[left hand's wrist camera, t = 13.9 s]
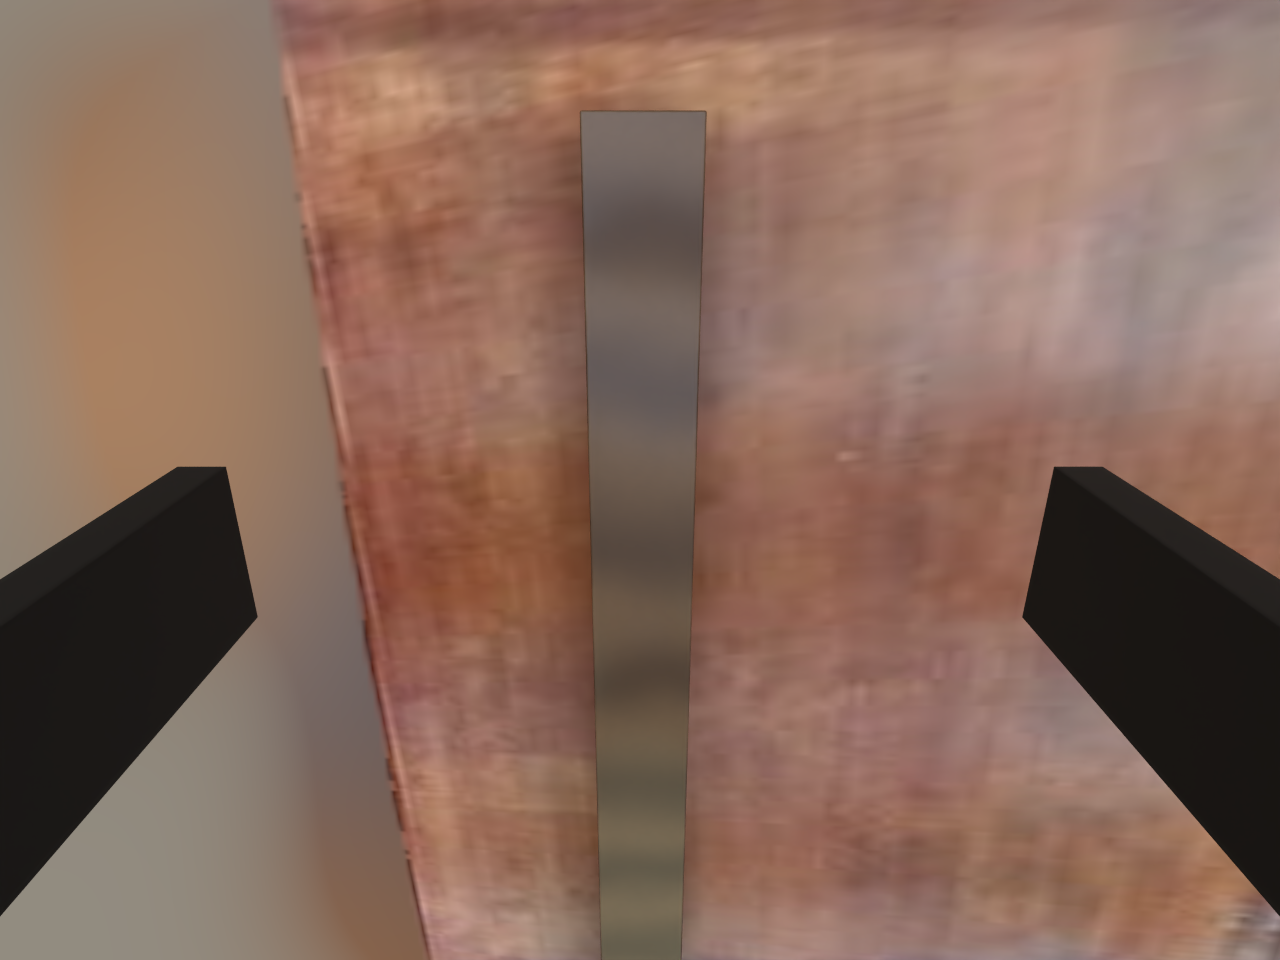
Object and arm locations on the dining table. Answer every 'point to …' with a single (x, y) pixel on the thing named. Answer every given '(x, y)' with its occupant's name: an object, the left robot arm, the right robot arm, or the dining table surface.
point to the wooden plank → (642, 503)
